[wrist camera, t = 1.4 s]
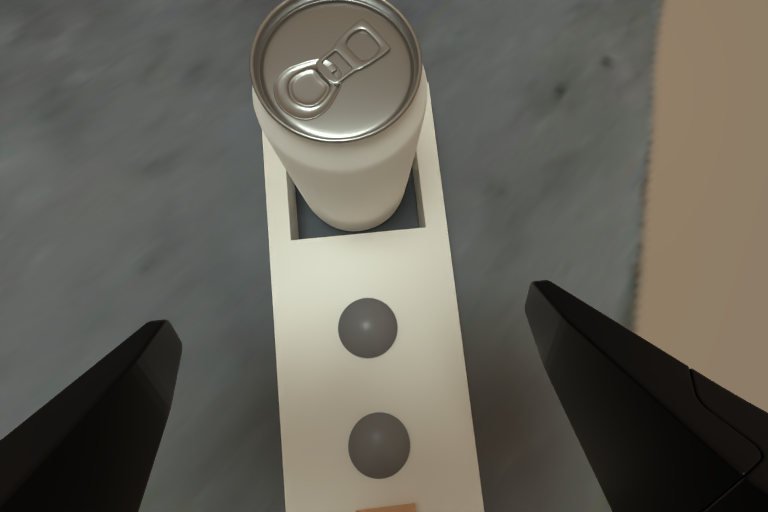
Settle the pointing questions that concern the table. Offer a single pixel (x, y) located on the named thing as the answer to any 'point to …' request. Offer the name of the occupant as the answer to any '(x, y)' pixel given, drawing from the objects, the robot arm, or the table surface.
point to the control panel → (371, 358)
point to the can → (341, 103)
